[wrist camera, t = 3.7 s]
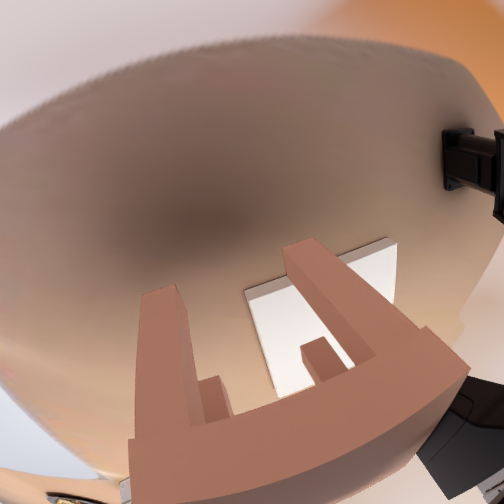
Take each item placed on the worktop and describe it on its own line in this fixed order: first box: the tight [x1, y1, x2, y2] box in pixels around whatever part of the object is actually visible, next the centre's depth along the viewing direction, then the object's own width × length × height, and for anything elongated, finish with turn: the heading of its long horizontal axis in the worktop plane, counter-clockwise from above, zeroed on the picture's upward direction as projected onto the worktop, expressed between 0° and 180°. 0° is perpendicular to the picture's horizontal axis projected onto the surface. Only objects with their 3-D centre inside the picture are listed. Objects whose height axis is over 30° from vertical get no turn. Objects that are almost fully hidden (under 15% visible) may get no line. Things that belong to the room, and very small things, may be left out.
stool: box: [128, 237, 471, 504], centre depth 8 cm, size 6×6×7 cm
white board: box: [244, 238, 397, 398], centre depth 26 cm, size 14×14×2 cm
